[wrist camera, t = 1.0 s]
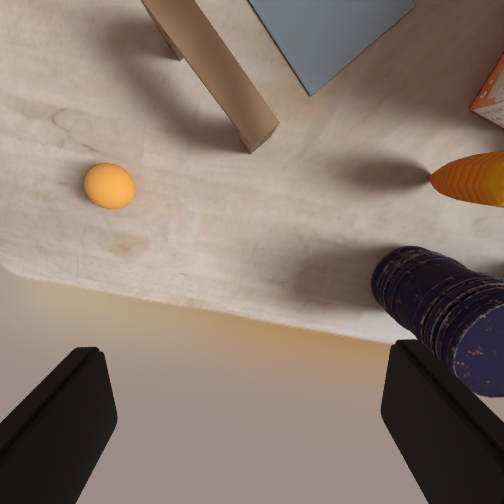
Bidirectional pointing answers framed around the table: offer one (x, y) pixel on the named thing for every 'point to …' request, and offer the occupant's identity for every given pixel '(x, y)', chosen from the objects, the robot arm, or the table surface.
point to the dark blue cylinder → (447, 313)
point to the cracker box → (492, 97)
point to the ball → (109, 186)
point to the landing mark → (326, 32)
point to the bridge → (214, 67)
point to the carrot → (473, 179)
